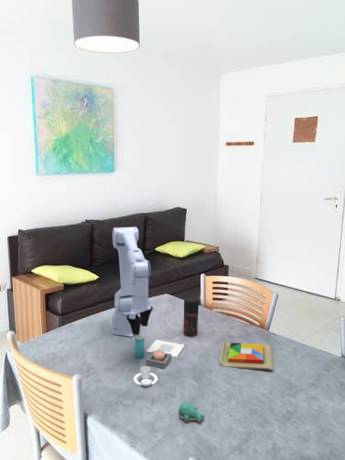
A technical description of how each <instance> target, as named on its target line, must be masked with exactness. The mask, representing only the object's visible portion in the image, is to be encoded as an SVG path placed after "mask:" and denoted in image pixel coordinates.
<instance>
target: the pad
mask: <svg viewBox="0 0 345 460" xmlns="http://www.w3.org/2000/svg"><path fill="white" fill-rule="evenodd" d="M185 347H186V344H183V343H176V342H172V341H171V342H170V341H165V340H159V339H155V340H154V341H153V343H152V344H151V345H150V347H149V348H148V349H146V351H145V352H146V353H149V354H151V353H152V352H153V351H156V350H162V351H164V352H165V353H168V354H172V355H171V358H176V359H177V358H178V357H179V355H180V354H181V352H182V351H183V349H184V348H185Z"/></svg>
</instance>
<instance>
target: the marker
mask: <svg viewBox="0 0 345 460" xmlns="http://www.w3.org/2000/svg"><path fill="white" fill-rule="evenodd" d="M144 358H145V337H144V335H142V334H139V335H135V338H134V359H136V360H143V359H144Z"/></svg>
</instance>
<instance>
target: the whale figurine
mask: <svg viewBox="0 0 345 460" xmlns="http://www.w3.org/2000/svg"><path fill="white" fill-rule="evenodd" d="M178 416H179V417H180V419H181V420H183V419H184V420H185V421H187V422H188V421H197V422H198V423H201V422H202V420H203V419H204V418H205V415H204V414H202V413H199V412H198V408H197V407H195V406H194V405H192V403H190V402H184V403H182V404H180V406H179V409H178Z"/></svg>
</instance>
